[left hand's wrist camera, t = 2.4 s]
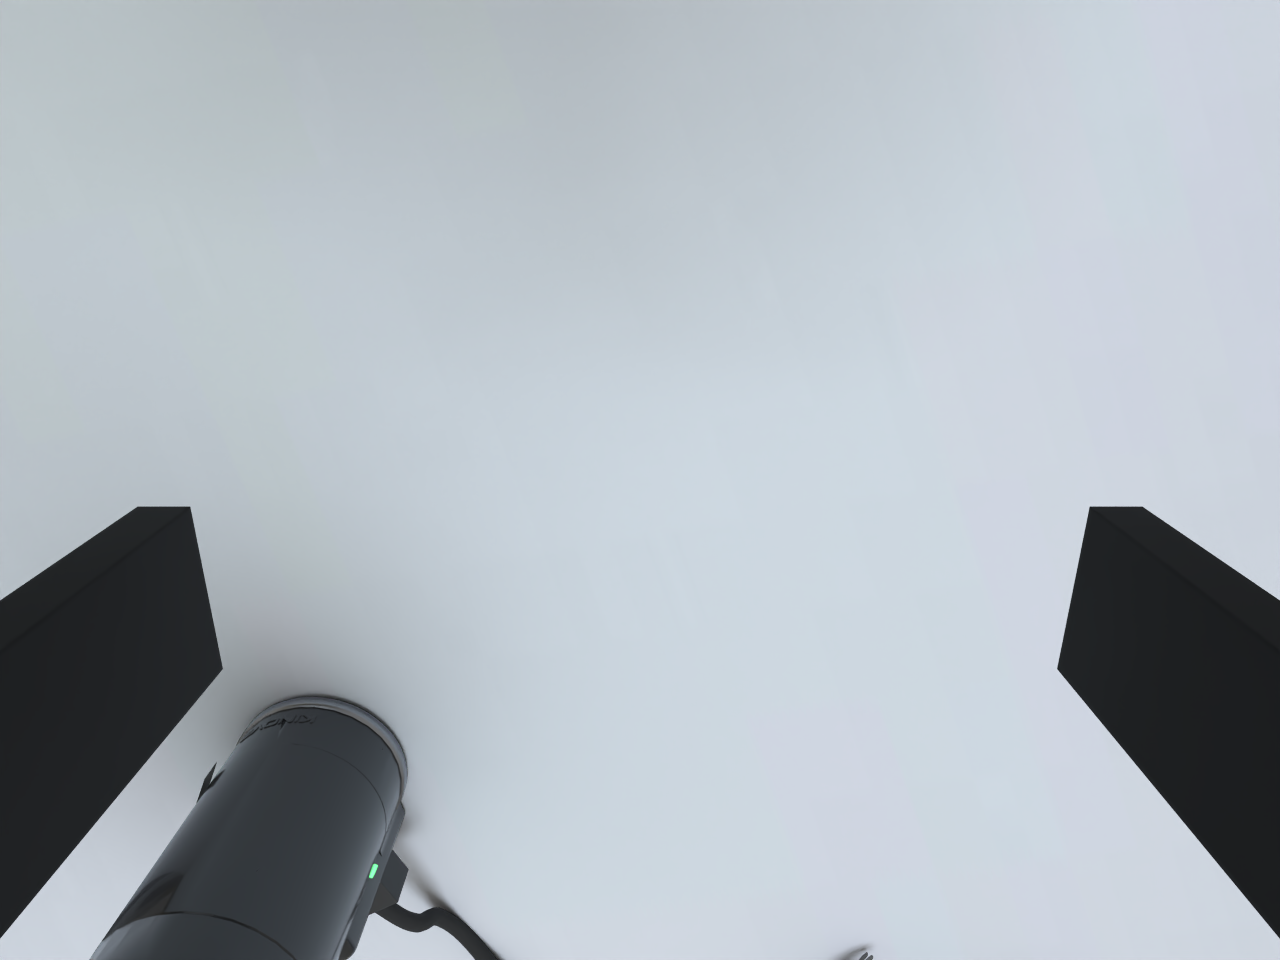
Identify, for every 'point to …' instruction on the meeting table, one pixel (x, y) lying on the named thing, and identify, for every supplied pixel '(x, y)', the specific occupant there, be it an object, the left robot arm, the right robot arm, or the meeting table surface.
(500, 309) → the meeting table surface
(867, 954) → the figurine
